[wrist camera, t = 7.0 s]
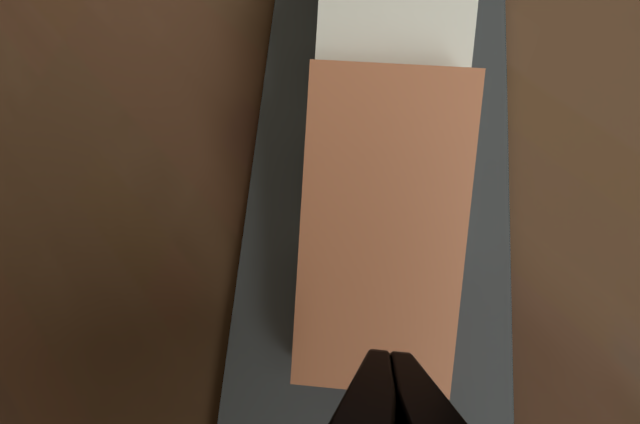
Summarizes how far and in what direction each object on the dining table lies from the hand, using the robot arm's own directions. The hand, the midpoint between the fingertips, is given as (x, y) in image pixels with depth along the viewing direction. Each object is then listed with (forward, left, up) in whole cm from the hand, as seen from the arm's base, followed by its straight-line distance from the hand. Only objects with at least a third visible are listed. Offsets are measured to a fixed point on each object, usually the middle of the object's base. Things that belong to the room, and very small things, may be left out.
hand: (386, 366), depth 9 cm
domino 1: (-1, 0, -6) cm, 7 cm away
